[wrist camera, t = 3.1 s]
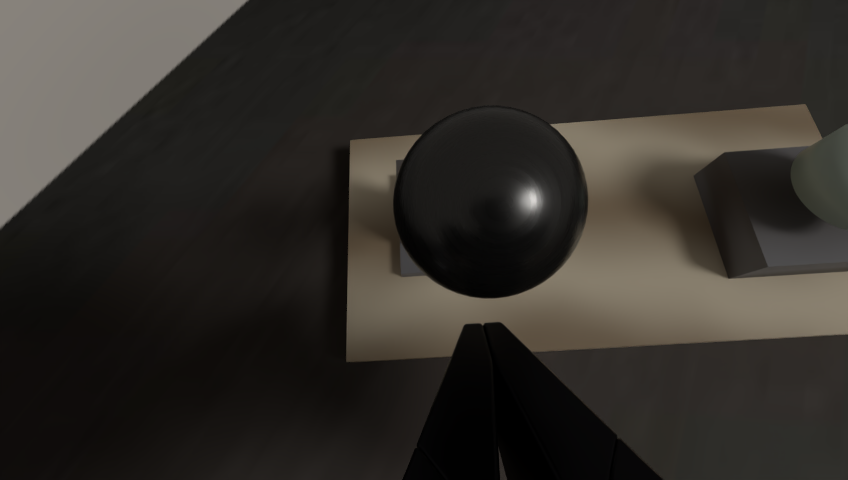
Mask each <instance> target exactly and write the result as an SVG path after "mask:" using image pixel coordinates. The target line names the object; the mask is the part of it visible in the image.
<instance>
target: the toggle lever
mask: <svg viewBox="0 0 848 480" xmlns="http://www.w3.org/2000/svg"><path fill="white" fill-rule="evenodd" d="M393 213H394V220H395V225H396V229H397V232H398V236H399V238H400V240H401V243H402V245H403V247H404V249H405V251H406V252H407V254H408V256H409V257H410V259H411V260H412V261H413V262H414V264H415V265H416V266H417V267H418V268H419V269H420V270H421V271H422V272H423V273H424V274H425V275H426V276H427V277H429V278H430V279H431V280H433V281H434V282H435V283H437V284H439V285H440V286H442V287H444V288H446V289H448V290H450V291H453V292H455V293H458V294H461V295H465V296H468V297H474V298H482V299H496V298H504V297H509V296H513V295H517V294H520V293H523V292H525V291H528V290H530V289H532V288H534V287H536V286H538V285H540V284H541V283H543V282H545V281H546V280H547V279H549V278H550V277H551V276H553V275H554V274H555V273H556V272H557V271H558V270H559V269H560V268H561V267H562V266H563V265H564V264H565V263H566V261H567V260H568V259H569V258H570V256H571V255H572V253H573V252H574V250H575V248H576V247H577V245H578V243H579V240H580V238H581V236H582V233H583V230H584V227H585V224H586V219H587V213H588V188H587V182H586V178H585V173H584V170H583V168H582V165H581V163H580V160H579V158H578V157H577V155H576V153H575V151H574V149H573V148H572V147H571V145H570V144H569V143H568V141H567V140H566V139H565V138H564V137H563V136H562V135H561V134H560V132H559V131H558V130H556V129H555V128H554V127H552V126H551V125H550V124H549V123H547V122H546V121H544V120H542V119H540V118H539V117H537V116H535V115H533V114H531V113H528V112H526V111H523V110H520V109H516V108H512V107H506V106H479V107H472V108H469V109H465V110H462V111H459V112H456V113H454V114H452V115H449V116H447V117H445V118H444V119H442V120H440V121H439V122H437V123H435V124H434V125H433V126H432V127H430V128H429V129H428V130H427V131H425V132H424V133H423V134H422V135H421V136H420V137H419V138H418V139H417V141H416V142H415V143H414V144H413V146H412V147H411V148H410V150H409V151H408V153H407V155H406V157H405V158H404V160H403V162H402V164H401V167H400V169H399V172H398V175H397V179H396V183H395V187H394V195H393Z"/></svg>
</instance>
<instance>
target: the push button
mask: <svg viewBox="0 0 848 480" xmlns="http://www.w3.org/2000/svg"><path fill="white" fill-rule="evenodd" d="M791 181H792V185H793V188H794V190H795V192H796V194H797V196H798V197H799V199H800V200H801V202H802V203H803V204H804V205H805V206H806V207H807V208H808V209H809V210H810V211H811V212H812V213H813V214H815V215H816V216H817V217H819V218H820V219H822V220H823V221H825V222H827V223H829V224H831V225H833V226H836V227H838V228H841V229H844V230H848V124H846V125H845V126H843V127H841V128H840V129H838V130H836V131H835V132H833V133H831V134H830V135H828V136H826V137H825V138H823V139H821V140H820V141H818V142H816V143H815V144H813V145H811V146H810V147H808V148H806V149H805V150H803V151H802V152H800V153H799V154H798V155H797V157H796V158H795V159H794V161H793V163H792V167H791Z"/></svg>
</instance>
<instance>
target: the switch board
mask: <svg viewBox="0 0 848 480" xmlns="http://www.w3.org/2000/svg"><path fill="white" fill-rule="evenodd" d="M550 125H551V126H552V127H554V128H555V129H556V130H558V131H559V132H560V134H561V135H562V136H563V137H564V138H565V139H566V140H567V141H568V143H569V144H570V145H571V147H572V148H573V149H574V151H575V153H576V155H577V157H578V158H579V160H580V163H581V165H582V168H583V170H584V173H585V178H586V182H587V188H588V213H587V219H586V224H585V227H584V230H583V233H582V236H581V238H580V240H579V243H578V245H577V247H576V248H575V250H574V252H573V253H572V255H571V256H570V258H569V259H568V260H567V261H566V263H565V264H564V265H563V266H562V267H561V268H560V269H559V270H558V271H557V272H556V273H555V274H554V275H553V276H551V277H550V278H549V279H547V280H546V281H545V282H543V283H541V284H540V285H538V286H536V287H534V288H532V289H530V290H528V291H525V292H523V293H520V294H517V295H513V296H509V297H504V298H496V299H482V298H474V297H468V296H465V295H461V294H458V293H455V292H453V291H450V290H448V289H446V288H444V287H442V286H440V285H439V284H437V283H435V282H434V281H433V280H431V279H430V278H429V277H427V276H426V275H425V274H424V273H423V272H422V271H421V270H420V269H419V268H418V267H417V266H416V265H415V264H414V262H413V261H412V260H411V259H410V257H409V256H408V254H407V252H406V251H405V249H404V247H403V245H402V243H401V240H400V238H399V236H398V232H397V229H396V225H395V220H394V213H393V195H394V187H395V183H396V179H397V175H398V172H399V169H400V167H401V164H402V162H403V160H404V158H405V157H406V155H407V153H408V151H409V150H410V148H411V147H412V146H413V144H414V143H415V142H416V141H417V139H418V138H419V137H420V136H421V135H410V136H398V137H385V138H372V139H360V140H350V180H349V234H348V288H347V341H346V362H368V361H386V360H404V359H422V358H439V357H451V356H452V354H453V351H454V348H455V346H456V343H457V341H458V338H459V336H460V333H461V331H462V328H463V326H464V325H465V324H471V323H481V324H482V325H483V324H484V323H488V322H501V323H503V324H504V325H505V326H506V327H507V328H508V329H509V330H510V331H511V332H512V333H513V334H514V335H515V336H516V337H517V338H518V339H519V340H520V341H521V342H522V343H523V344H524V345H525V346H526V347H527V348H529V349H530V350H531V351H532V352H546V351H564V350H581V349H599V348H617V347H635V346H652V345H670V344H688V343H706V342H723V341H741V340H759V339H777V338H794V337H812V336H830V335H848V230H844V229H841V228H838V227H836V226H833V225H831V224H829V223H827V222H825V221H823V220H822V219H820V218H819V217H817V216H816V215H815V214H813V213H812V212H811V211H810V210H809V209H808V208H807V207H806V206H805V205H804V204H803V203H802V202H801V200H800V199H799V197H798V196H797V194H796V192H795V190H794V188H793V185H792V181H791V167H792V163H793V161H794V159H795V158H796V157H797V155H798V154H799V153H800V152H802V151H803V150H805V149H806V148H808V147H810V146H811V145H813V144H815V143H816V142H818V141H820V140H821V139H822V137H821V135H820V133H819V131H818V129H817V127H816V125H815V123H814V121H813V119H812V117H811V115H810V113H809V111H808V108H807V106H806V104H803V105H790V106H778V107H765V108H752V109H740V110H727V111H714V112H702V113H689V114H676V115H664V116H651V117H638V118H626V119H613V120H600V121H588V122H575V123H562V124H550Z"/></svg>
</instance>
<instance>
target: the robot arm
mask: <svg viewBox="0 0 848 480" xmlns="http://www.w3.org/2000/svg"><path fill="white" fill-rule="evenodd" d="M498 447H499V451H500V454H501V458H502V462H503V466H504V469H505V473H506V477H507V480H664V479H663V478H662V477H661V476H660V475H659V474H658V473H657V472H655V471H654V470H653V469H652V468H651V467H650V466H649V465H648V464H647V463H646V462H645V461H644V460H643V459H642V458H641V457H639V456H638V455H637V454H636V453H635V452H634V451H633V450H632V449H631V448H630V447H629V446H628V445H627V444H626V443H625V442H624V441H623V440H622V439H621V438H618V439H617V434H616V433H615V432H614V431H613V430H612V429H610V428H609V427H608V426H607V425H606V424H605V423H604V422H603V421H602V420H601V419H600V418H599V417H598V416H597V415H596V414H595V413H594V412H593V411H592V410H591V409H590V408H589V407H588V406H587V405H586V404H585V403H584V402H583V401H582V400H581V399H580V398H579V397H578V396H577V395H576V394H575V393H574V392H573V391H572V390H571V389H569V388H568V387H567V386H566V385H565V384H564V383H563V382H562V381H561V380H560V379H559V378H558V377H557V376H556V375H555V374H554V373H553V372H552V371H551V370H550V369H549V368H548V367H547V366H546V365H545V364H544V363H543V362H542V361H541V360H540V359H539V358H538V357H537V356H536V355H535V354H534V353H533V352H532V351H531V350H530V349H529V348H527V347H526V346H525V345H524V344H523V343H522V342H521V341H520V340H519V339H518V338H517V337H516V336H515V335H514V334H513V333H512V332H511V331H510V330H509V329H508V328H507V327H506V326H505V325H504V324H503V323H501V322H488V323H484V324H483V325H482V324H481V323H471V324H465V325H464V326H463V328H462V331H461V333H460V336H459V338H458V341H457V343H456V346H455V348H454V351H453V354H452V356H451V359H450V361H449V364H448V366H447V369H446V371H445V374H444V376H443V379H442V382H441V384H440V387H439V389H438V392H437V394H436V397H435V399H434V402H433V405H432V407H431V410H430V412H429V415H428V417H427V420H426V422H425V425H424V427H423V430H422V433H421V435H420V438H419V440H418V443H417V448H415V450H414V452H413V455H412V457H411V460H410V462H409V465H408V468H407V470H406V472H405V474H404V477H403V479H402V480H500V471H499V453H498Z"/></svg>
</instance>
